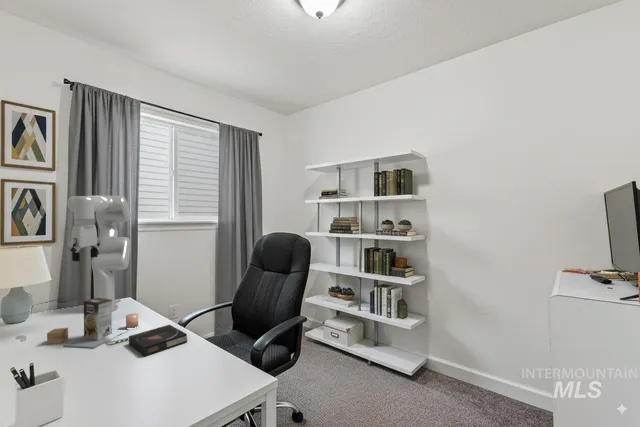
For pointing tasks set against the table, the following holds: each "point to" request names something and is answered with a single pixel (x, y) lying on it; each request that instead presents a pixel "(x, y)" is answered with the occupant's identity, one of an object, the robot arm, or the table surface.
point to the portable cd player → (157, 340)
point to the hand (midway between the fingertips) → (85, 259)
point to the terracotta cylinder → (132, 320)
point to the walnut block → (57, 336)
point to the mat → (85, 343)
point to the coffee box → (97, 318)
